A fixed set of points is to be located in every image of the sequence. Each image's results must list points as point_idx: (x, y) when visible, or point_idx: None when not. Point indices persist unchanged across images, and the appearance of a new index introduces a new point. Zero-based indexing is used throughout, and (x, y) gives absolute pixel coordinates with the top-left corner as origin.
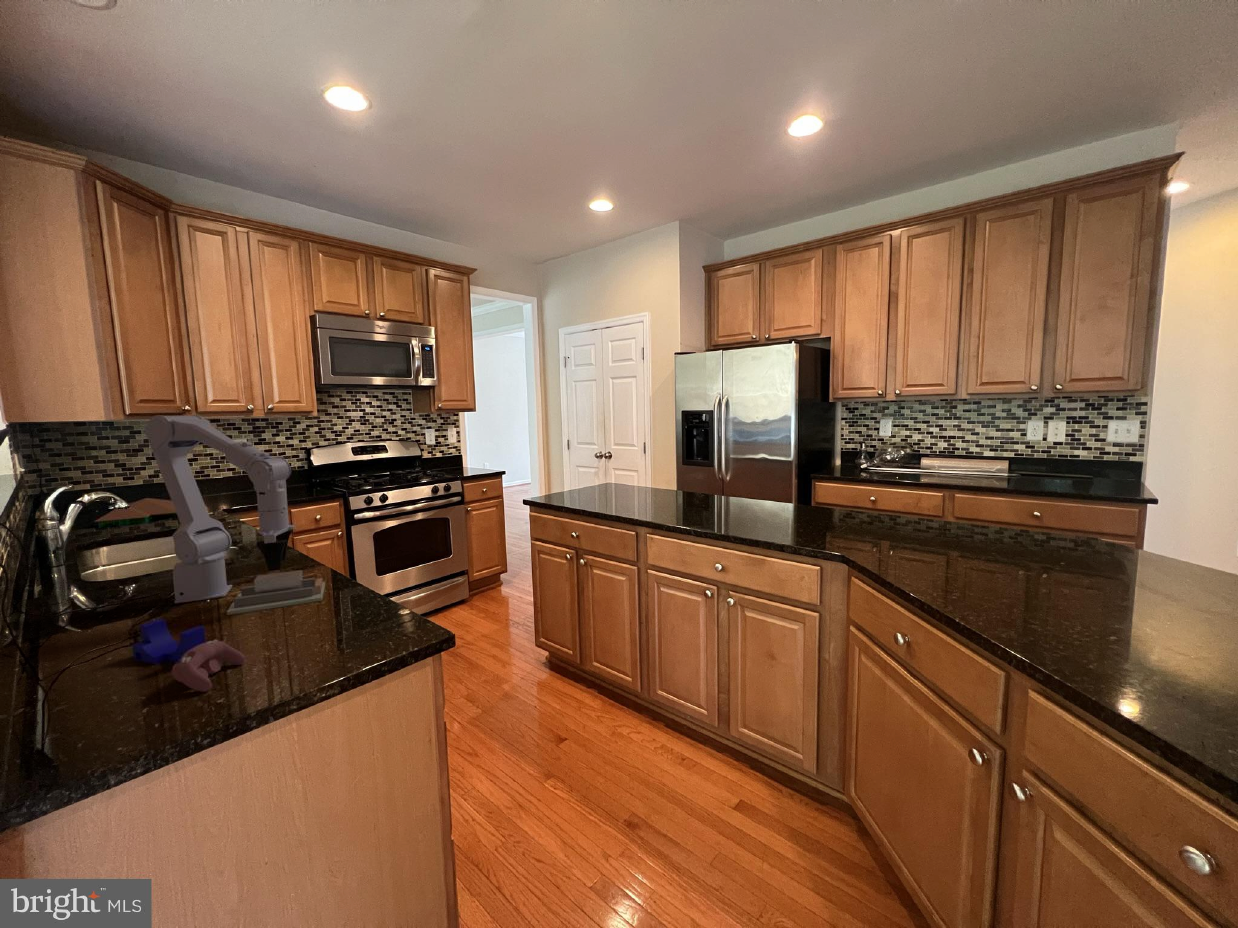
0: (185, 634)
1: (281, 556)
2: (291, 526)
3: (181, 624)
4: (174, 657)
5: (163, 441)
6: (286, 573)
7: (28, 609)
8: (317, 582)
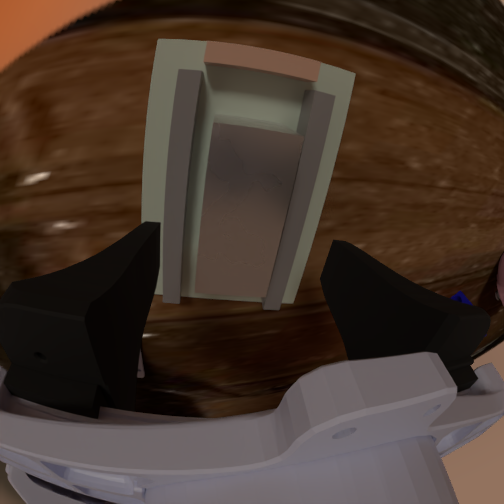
0: (485, 335)
1: (393, 272)
2: (428, 415)
3: (286, 352)
4: None
5: None
6: (232, 191)
7: None
8: (266, 63)
